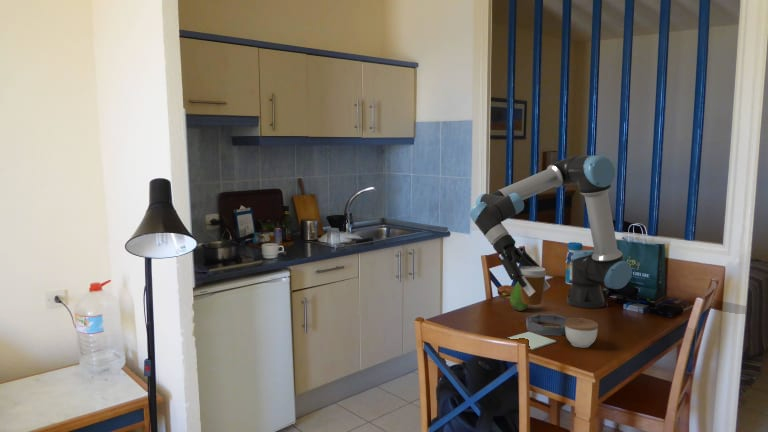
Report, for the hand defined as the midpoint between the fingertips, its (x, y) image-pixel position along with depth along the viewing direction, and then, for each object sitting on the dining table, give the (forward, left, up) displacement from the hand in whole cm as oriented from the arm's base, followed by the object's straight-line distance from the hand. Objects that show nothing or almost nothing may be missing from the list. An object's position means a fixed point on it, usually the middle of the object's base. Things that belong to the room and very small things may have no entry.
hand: (540, 291), depth 188 cm
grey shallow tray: (-16, -8, -18) cm, 25 cm away
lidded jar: (-10, +9, -19) cm, 23 cm away
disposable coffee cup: (+1, -3, -5) cm, 6 cm away
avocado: (-25, -30, -19) cm, 43 cm away
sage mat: (0, -3, -18) cm, 19 cm away
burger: (-37, -48, -19) cm, 63 cm away
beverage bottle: (-81, -45, -18) cm, 94 cm away
